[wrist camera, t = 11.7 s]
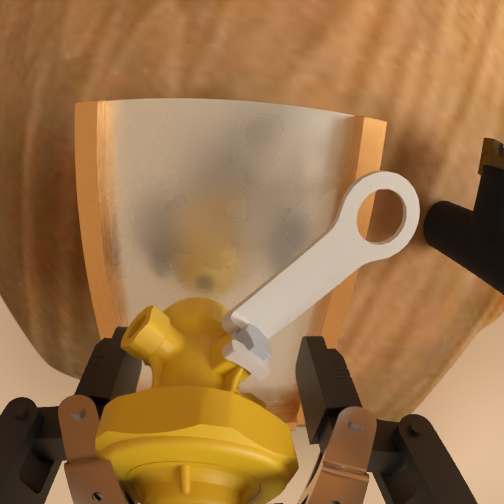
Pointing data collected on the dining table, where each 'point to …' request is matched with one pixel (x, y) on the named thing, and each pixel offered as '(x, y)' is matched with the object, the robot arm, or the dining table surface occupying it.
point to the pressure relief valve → (230, 373)
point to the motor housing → (216, 211)
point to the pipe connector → (475, 222)
